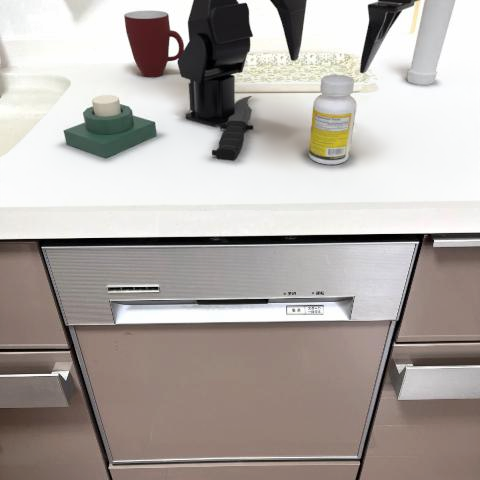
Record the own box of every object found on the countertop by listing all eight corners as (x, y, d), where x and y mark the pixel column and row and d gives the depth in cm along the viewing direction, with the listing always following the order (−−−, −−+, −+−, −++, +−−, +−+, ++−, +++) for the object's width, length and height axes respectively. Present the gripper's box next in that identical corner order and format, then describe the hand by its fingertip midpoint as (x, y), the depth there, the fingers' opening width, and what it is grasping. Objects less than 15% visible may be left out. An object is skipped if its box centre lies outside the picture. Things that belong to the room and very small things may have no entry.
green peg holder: (156, 135, 69) (153, 107, 67) (105, 158, 63) (100, 128, 60) (118, 123, 73) (113, 96, 70) (66, 144, 67) (59, 115, 64)
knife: (232, 90, 81) (261, 91, 80) (232, 100, 82) (261, 101, 81) (208, 148, 62) (246, 150, 62) (209, 160, 63) (245, 162, 63)
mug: (187, 68, 96) (183, 10, 89) (184, 80, 90) (180, 18, 83) (134, 68, 96) (127, 10, 89) (129, 80, 90) (120, 18, 83)
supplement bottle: (321, 146, 67) (330, 70, 60) (355, 156, 64) (369, 78, 58) (300, 158, 64) (307, 79, 57) (335, 169, 61) (347, 88, 54)
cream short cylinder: (126, 113, 66) (124, 98, 64) (107, 120, 64) (104, 105, 62) (108, 108, 67) (106, 93, 66) (89, 115, 65) (86, 99, 64)
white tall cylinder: (405, 83, 89) (445, -92, 72) (406, 76, 93) (444, -93, 76) (434, 86, 88) (481, -92, 71) (434, 78, 92) (478, -92, 75)
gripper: (221, -113, 45) (224, 68, 55) (410, -114, 37) (372, 98, 47) (283, -111, 52) (275, 49, 62) (454, -112, 43) (412, 73, 54)
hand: (327, 66), depth 56 cm, fingers open, 9 cm apart
